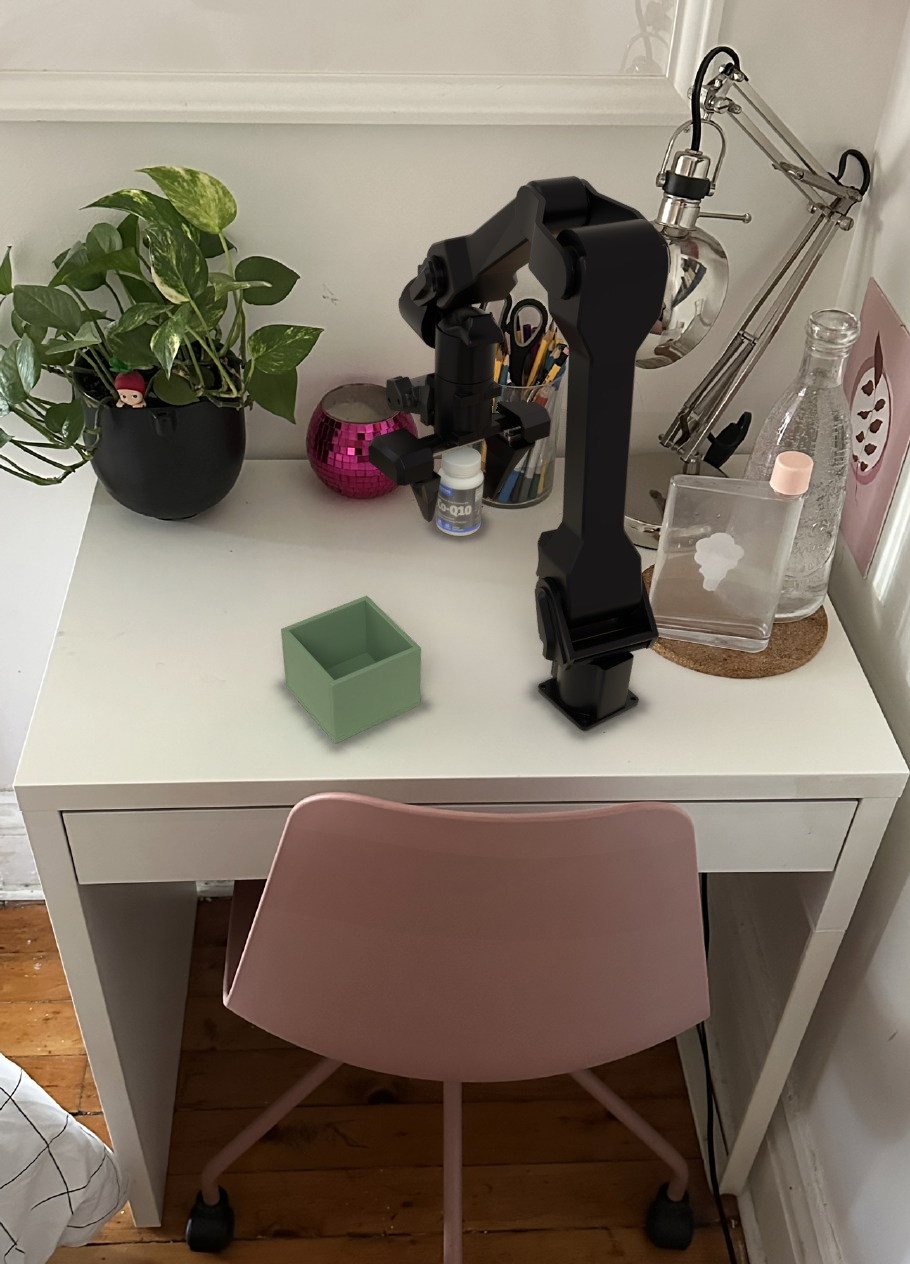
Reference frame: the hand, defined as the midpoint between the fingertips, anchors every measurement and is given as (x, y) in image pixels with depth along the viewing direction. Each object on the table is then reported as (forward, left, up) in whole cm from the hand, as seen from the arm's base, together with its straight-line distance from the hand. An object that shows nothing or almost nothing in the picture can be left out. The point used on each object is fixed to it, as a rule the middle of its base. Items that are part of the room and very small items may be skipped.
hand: (459, 508), depth 119 cm
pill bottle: (0, 0, -2) cm, 2 cm away
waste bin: (-16, +23, -2) cm, 28 cm away
